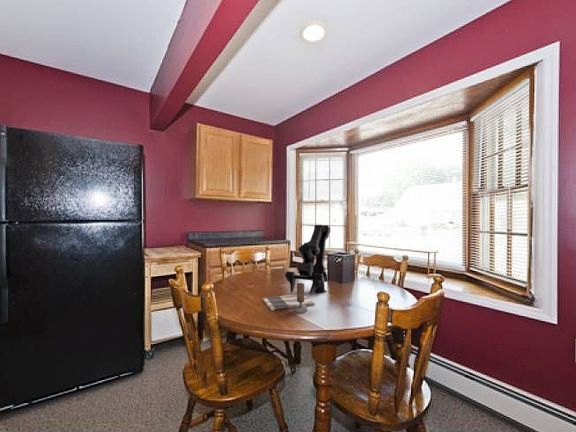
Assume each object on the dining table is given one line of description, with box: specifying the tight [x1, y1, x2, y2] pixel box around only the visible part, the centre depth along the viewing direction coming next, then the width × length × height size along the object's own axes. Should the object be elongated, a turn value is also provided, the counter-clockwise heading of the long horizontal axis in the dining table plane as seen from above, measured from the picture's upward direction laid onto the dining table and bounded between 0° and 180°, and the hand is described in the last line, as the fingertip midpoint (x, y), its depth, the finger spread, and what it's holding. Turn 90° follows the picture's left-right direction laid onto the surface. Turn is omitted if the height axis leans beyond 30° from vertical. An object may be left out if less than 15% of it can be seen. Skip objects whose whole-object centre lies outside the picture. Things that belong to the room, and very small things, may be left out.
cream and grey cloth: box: [262, 293, 315, 312], centre depth 142 cm, size 16×22×1 cm
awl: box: [294, 282, 308, 314], centre depth 130 cm, size 6×6×12 cm
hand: (300, 293), depth 130 cm, fingers open, 9 cm apart
